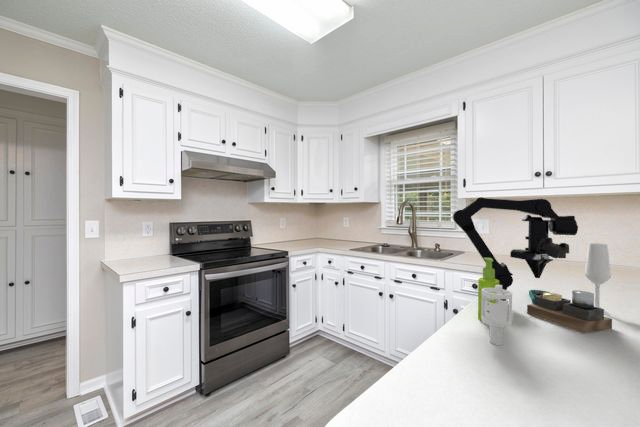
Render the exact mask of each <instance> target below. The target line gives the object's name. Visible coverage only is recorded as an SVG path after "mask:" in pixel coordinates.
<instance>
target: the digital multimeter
mask: <svg viewBox="0 0 640 427" xmlns="http://www.w3.org/2000/svg"><path fill="white" fill-rule="evenodd" d="M546 292H547V293H551V292H550V291H546V290H541V289H540V290H539V289H530V290H528V295H529V297H530V298H531V303H532V304H535V296H540V295H543V293H546Z"/></svg>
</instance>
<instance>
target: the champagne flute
mask: <svg viewBox="0 0 640 427" xmlns="http://www.w3.org/2000/svg"><path fill="white" fill-rule="evenodd" d="M586 254H587V255H586V261H585V267H584V268H585V269H584V276H585V277H586V278H587V279H588V280H589V281H590V282H591V283H593V284H594V307H598V308H602V307H601V306H600V304H601V303H600V296H601V294H600V289H601V287H600V286H601V285H602V284H604V283H606V282H608V281H610V279H611V277H612V274H611V265H610V255H609V248H608V243H600V242H599V243H598V242H589V243H588V245H587V253H586ZM604 316H611V313H610V312H609V311H607V310H605V309H604Z"/></svg>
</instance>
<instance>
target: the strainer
mask: <svg viewBox="0 0 640 427" xmlns="http://www.w3.org/2000/svg"><path fill="white" fill-rule="evenodd" d="M489 292H496V294H494V293H489ZM481 294H482V299H481V320H482V321H481V320H480V321H481V322H483V323H484V324H486V325H489V342H490V344H493V345H496V346H502V345H503V344H504V341H503V340H504V336H503V335H504V328H509V327H512V326H513V292H512V291H510V290H508V289H507V290H504V289H502V285H495V288H482V289H481ZM485 296H487V297H485ZM495 299H497V300H496V304H495V303H491V302H490V300H495ZM500 299H506V301H502V300H500Z"/></svg>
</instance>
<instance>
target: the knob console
mask: <svg viewBox="0 0 640 427" xmlns="http://www.w3.org/2000/svg"><path fill="white" fill-rule="evenodd" d="M604 310H605V309H604V308H602V307H601V308H598V307H594V308H583V307H578V306H575V305H573V304H572V300H570V299H568V298H563V297H562V301H552V300H549V299H545V298H543V295H540V296H535V304H533V303H532V304H527V305H526V314H528V315H529V316H533V317H536V318H538V319H539V318H540V319H542V320H545V321H547V322H551V323H553V324H556V325H559V326H561V327H565V328H567V329H570V330H573V331H576V332H580V333H582V334H589V333H595V332H600V331H601V332H602V331H606V330H612V329H613V318H610V317H607V316H605V315H604Z"/></svg>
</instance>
